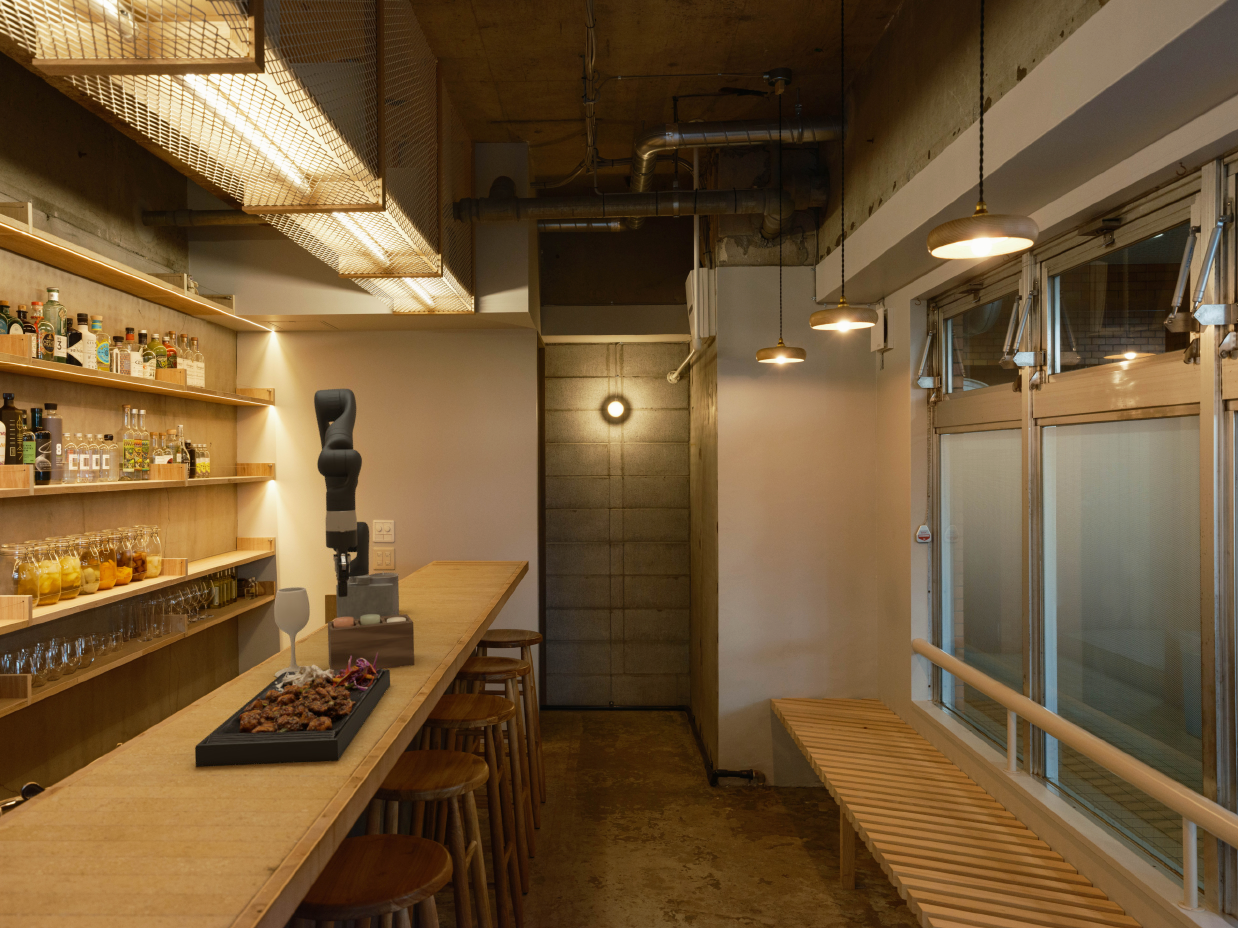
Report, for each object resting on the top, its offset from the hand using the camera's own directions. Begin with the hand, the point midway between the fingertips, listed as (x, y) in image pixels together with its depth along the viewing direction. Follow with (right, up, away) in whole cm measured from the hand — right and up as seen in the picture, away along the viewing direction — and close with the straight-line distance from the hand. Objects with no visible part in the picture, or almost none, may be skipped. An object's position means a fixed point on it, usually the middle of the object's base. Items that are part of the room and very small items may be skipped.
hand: (342, 596), depth 203 cm
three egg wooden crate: (+6, -18, +3) cm, 19 cm away
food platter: (+6, -20, -38) cm, 44 cm away
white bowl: (-11, -19, -4) cm, 22 cm away
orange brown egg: (0, -9, 0) cm, 9 cm away
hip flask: (-1, -18, +21) cm, 28 cm away
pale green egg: (+6, -9, +3) cm, 11 cm away
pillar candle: (-8, -17, +62) cm, 65 cm away
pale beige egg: (+12, -10, +5) cm, 17 cm away
